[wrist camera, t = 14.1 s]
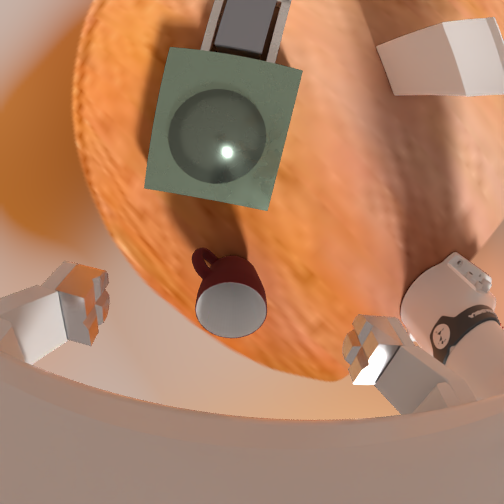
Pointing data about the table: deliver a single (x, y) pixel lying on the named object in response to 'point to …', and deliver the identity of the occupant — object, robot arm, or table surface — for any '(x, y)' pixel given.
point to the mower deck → (222, 120)
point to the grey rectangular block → (244, 27)
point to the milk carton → (447, 59)
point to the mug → (228, 295)
